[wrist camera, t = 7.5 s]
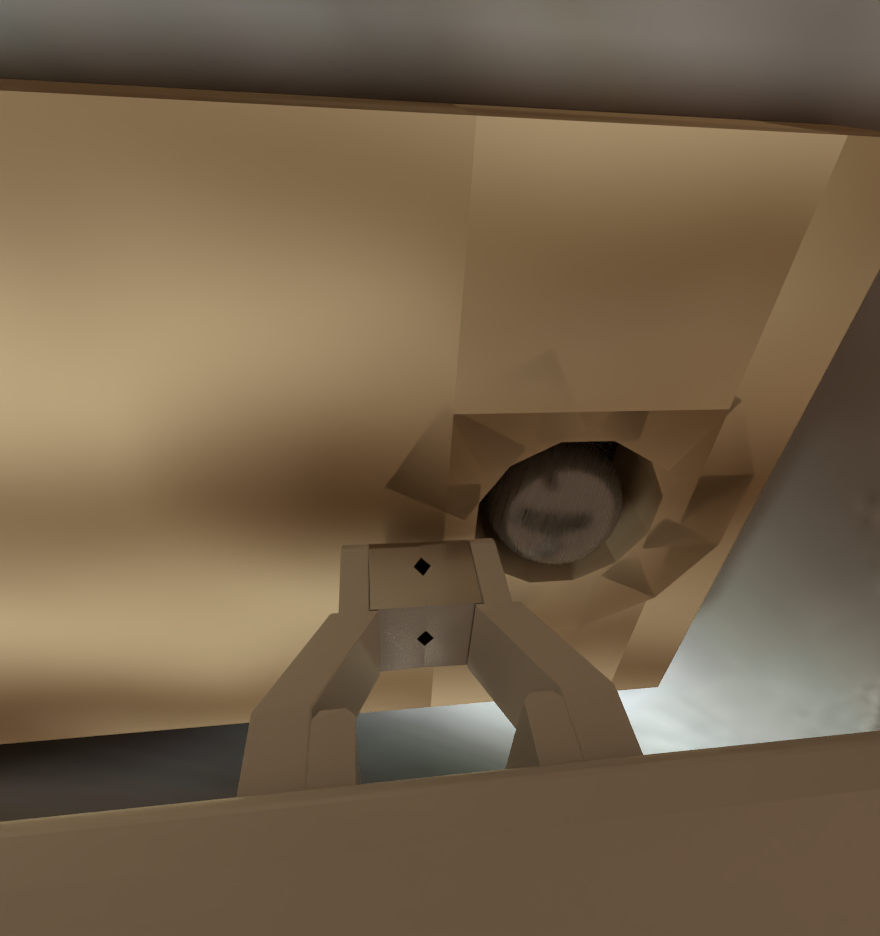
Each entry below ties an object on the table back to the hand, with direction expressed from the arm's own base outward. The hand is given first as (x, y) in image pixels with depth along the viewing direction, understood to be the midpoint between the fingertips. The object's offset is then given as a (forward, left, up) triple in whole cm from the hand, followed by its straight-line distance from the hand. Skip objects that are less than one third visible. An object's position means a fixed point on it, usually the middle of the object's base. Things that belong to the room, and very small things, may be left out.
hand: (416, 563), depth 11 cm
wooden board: (0, +3, -4) cm, 4 cm away
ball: (0, -3, -2) cm, 4 cm away
